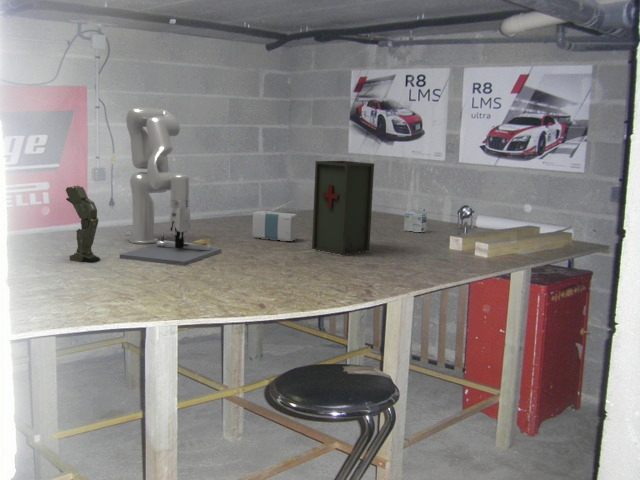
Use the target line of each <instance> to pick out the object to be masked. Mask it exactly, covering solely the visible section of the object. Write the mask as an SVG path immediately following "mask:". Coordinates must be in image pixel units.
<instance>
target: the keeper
mask: <svg viewBox="0 0 640 480" xmlns="http://www.w3.org/2000/svg"><path fill="white" fill-rule="evenodd" d="M192 243H193V244H197V245H201V244H208V245H211V239H210V238H201V239H196V240H194V241H192Z"/></svg>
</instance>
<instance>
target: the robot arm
mask: <svg viewBox="0 0 640 480" xmlns="http://www.w3.org/2000/svg"><path fill="white" fill-rule="evenodd" d="M125 120H126V122H125V123H126V128H127V131H128V134H129V137H130V149H131V150H130V151H131V160H132V165H133V167H134V168H135V169H138V170H147V171H139V172H135V173H133V174H131V177H130V180H129V185H130V189H131V196H132V197H131V199H132V231H129V230H128V231H126V233H125V236H126V237H129V239H128V241H129V242H130V243H131V244H141V245H143V244H145V245H146V244H147V245H148V244H157V241H158V240H159V239H158V238H156V237H155V201H154V199H153V198H152V196H151V195H150V194H157V193H158V194H160V193H165V192H167V191H170V213H169V231H170V232H171V235H172V236H174V239H175V240H174V242H175V247H176V248H183V247H184V242H185V234H186V233H187V232H188V231H189V230H190V229H191V228H192V227H191V213H190V212H191V211H190V177H189V175H188V174H183V173H180V172H169V170H170V169H169V158H168V155H171V153H172V152H173V144H172V141H171V137H176V136H178V135H179V134H180V130H181V127H180V122H179V121H178V119H177V118H176V117H175V116H174V115H173V114H172V113H170V112H169V111H168V110H166V109H165V108H156V107H145V106H142V107H132V108H130V109H129V110H128V112H127V113H126V117H125ZM145 128H146V129H145Z"/></svg>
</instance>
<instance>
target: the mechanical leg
mask: <svg viewBox="0 0 640 480" xmlns="http://www.w3.org/2000/svg"><path fill="white" fill-rule="evenodd" d="M65 192H66V194H67V196H68V197H66V198H65V200H66V201H68V203H70V204H72V205H73V208H74V210H75V212H76V214H77V215H78V218H79V219H81V220H80V227H81V229H80V228H78V229H77V230H76V231H75V232H76V242H77V248H76V252H74V253H73V254H71V255H69V260H70V261H75V262H83V263H89V264H90V263H92V264H93V263H96V262H101V258H100V257H99V256H97V255H95V254H94V252H93V250H92V246H93V245H94V242H95V241H94V240H95V236H96V232H97V228H98V225H99V220H100V219H99V218H98V208H97V206H96V204H95V202H94V201H93V200H92V199H90V198H89V197H88V195H87V193H86V190H85V189H84V187H83V186H80V185H73V186H69V187H65Z"/></svg>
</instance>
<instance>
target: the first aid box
mask: <svg viewBox="0 0 640 480" xmlns="http://www.w3.org/2000/svg"><path fill="white" fill-rule="evenodd" d="M374 169H375V163H373V162H372V163H371V162H363V161H362V162H361V161H360V162H359V161H349V160H315V167H314V188H313V190H314V195H313V216H312V217H313V218H312V238H311V239H312V243H311V250H312V249H315V250H320V251H325V252H330V253H335V254H340V255H347V254H353V253H359V252H365V253H367V252H366V251H369V252H370V247H371V246H370V243H371V230H372V229H371V226H372V210H373V192H374V191H373V190H374V172H375V170H374ZM315 250H314V251H315ZM320 251H319V252H320ZM325 252H324V253H325ZM330 253H329V254H330ZM359 254H360V253H359ZM353 255H354V254H353ZM347 256H348V255H347Z"/></svg>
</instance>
